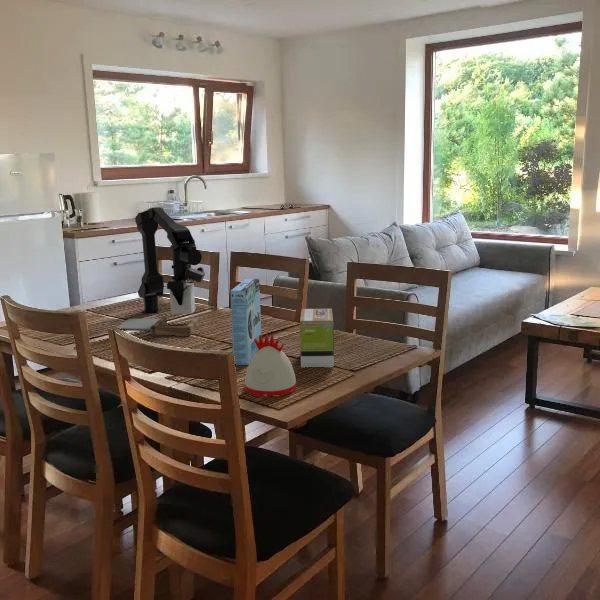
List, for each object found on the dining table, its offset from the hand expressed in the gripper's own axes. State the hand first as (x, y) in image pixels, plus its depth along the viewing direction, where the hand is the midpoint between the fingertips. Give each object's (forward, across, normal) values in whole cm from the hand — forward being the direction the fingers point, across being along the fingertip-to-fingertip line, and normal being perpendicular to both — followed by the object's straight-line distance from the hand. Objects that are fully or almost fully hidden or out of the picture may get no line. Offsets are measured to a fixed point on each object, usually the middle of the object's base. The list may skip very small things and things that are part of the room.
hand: (182, 303), depth 248 cm
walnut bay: (+8, -10, 0) cm, 12 cm away
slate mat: (+8, -4, +15) cm, 17 cm away
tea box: (+8, -42, -53) cm, 68 cm away
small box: (+4, 0, 0) cm, 4 cm away
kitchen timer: (+8, -67, -42) cm, 79 cm away
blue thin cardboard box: (+8, -39, -31) cm, 50 cm away
